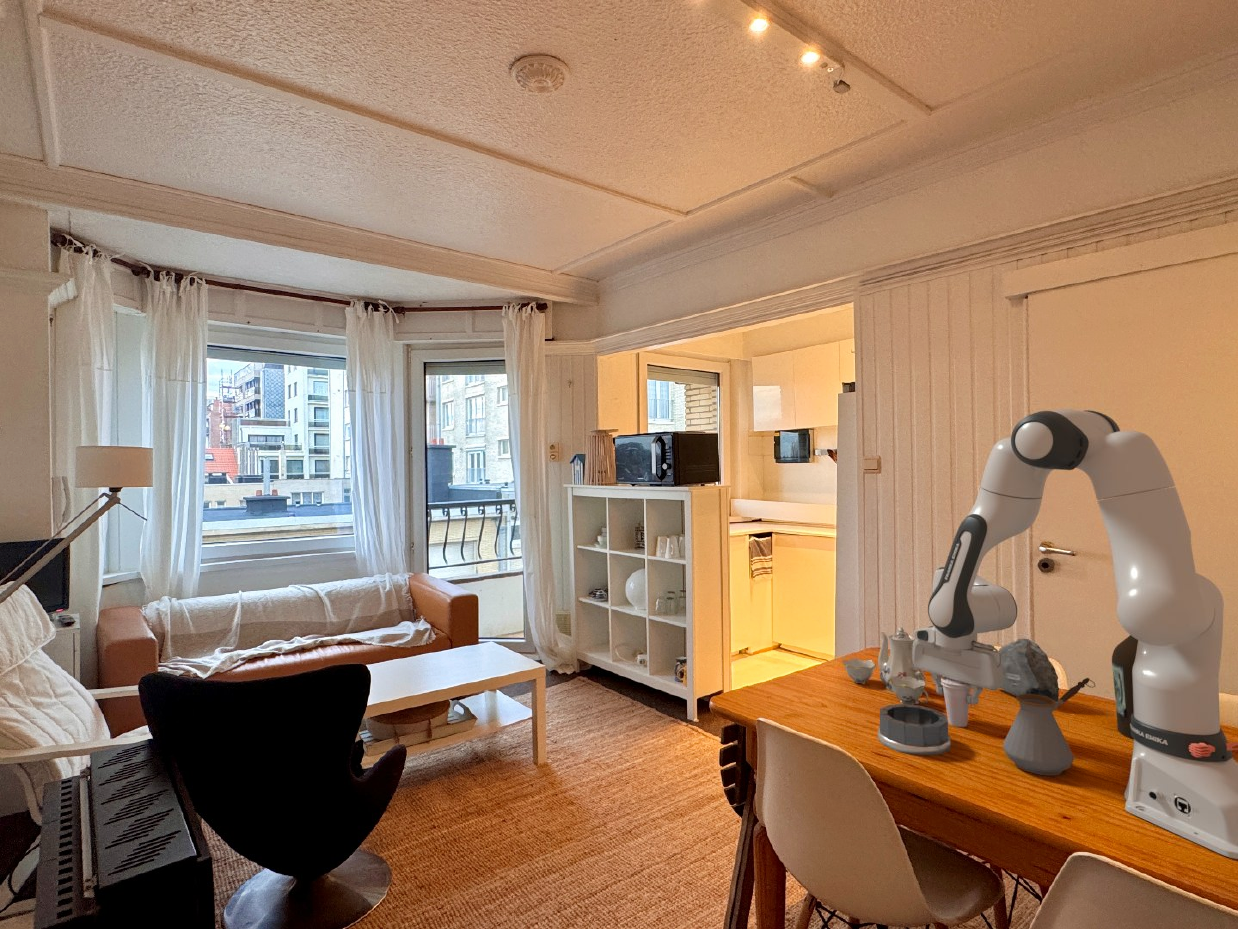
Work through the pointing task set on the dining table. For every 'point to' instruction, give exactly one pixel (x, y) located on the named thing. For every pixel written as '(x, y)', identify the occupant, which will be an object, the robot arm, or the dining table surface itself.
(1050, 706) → the coffee pot
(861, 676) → the chinaware
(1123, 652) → the olive oil
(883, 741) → the ring
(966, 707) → the smoothie
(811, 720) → the dining table surface
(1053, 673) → the decorative rock
